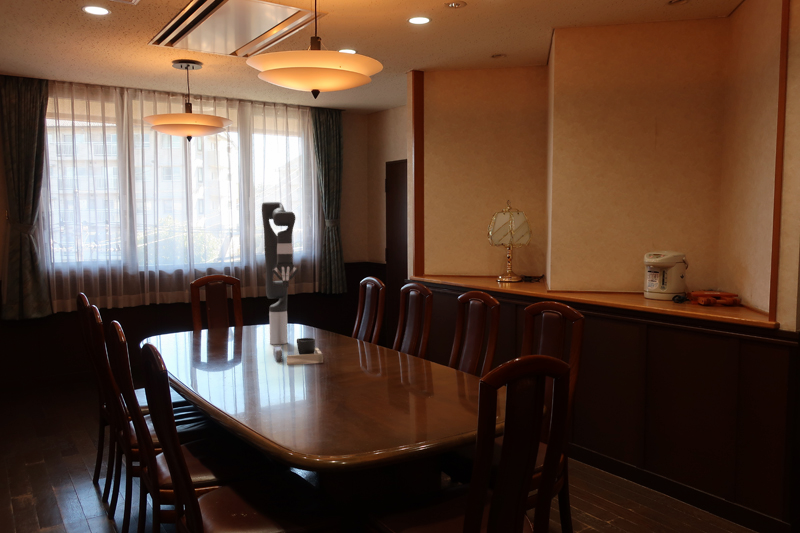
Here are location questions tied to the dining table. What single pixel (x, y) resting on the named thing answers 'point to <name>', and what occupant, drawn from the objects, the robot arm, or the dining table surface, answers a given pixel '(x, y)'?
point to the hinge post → (279, 355)
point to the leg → (276, 349)
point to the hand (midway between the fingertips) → (285, 288)
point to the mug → (306, 345)
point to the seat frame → (305, 358)
